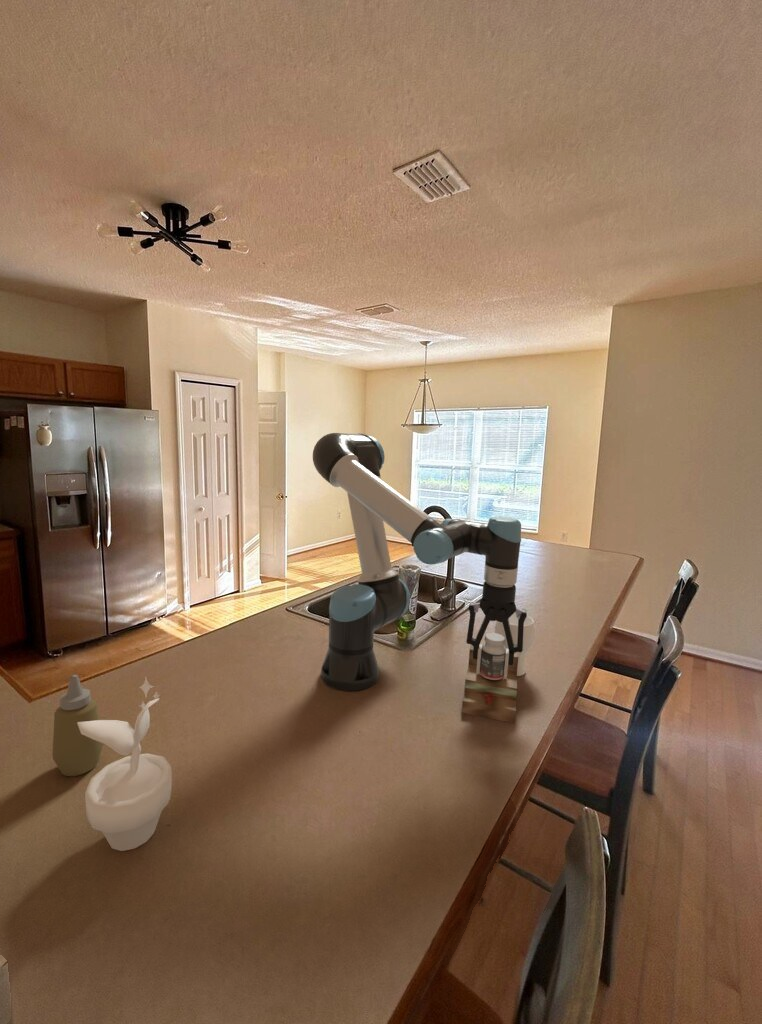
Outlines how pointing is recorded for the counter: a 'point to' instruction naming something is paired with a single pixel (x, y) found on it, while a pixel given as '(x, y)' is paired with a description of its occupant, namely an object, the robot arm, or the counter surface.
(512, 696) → the stand
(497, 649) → the pill bottle
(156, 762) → the potted plant
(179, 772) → the counter surface
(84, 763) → the squeeze bottle
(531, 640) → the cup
